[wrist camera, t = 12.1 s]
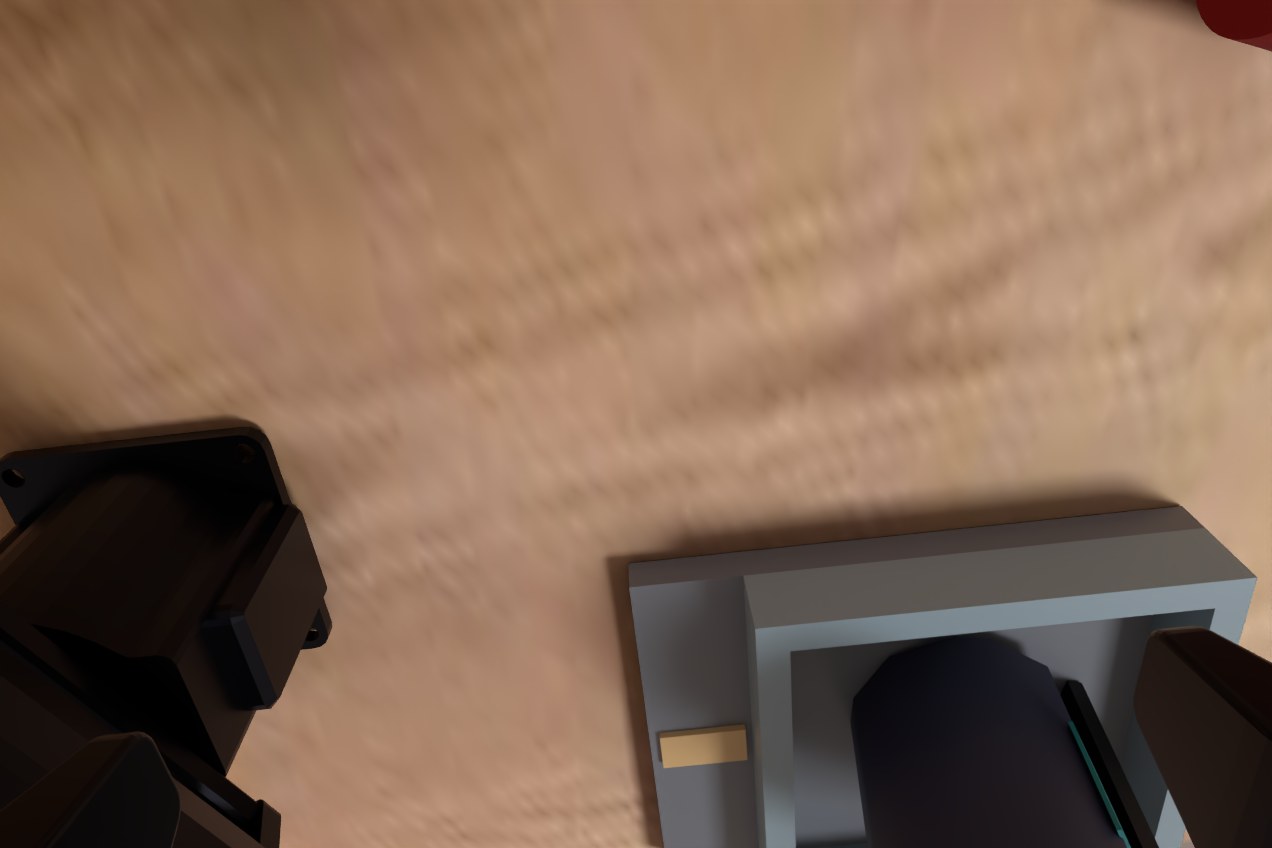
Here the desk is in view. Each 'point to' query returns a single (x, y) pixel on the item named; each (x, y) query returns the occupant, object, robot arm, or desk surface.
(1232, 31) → the mechanical linkage
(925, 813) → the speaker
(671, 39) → the desk surface
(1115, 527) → the tray
